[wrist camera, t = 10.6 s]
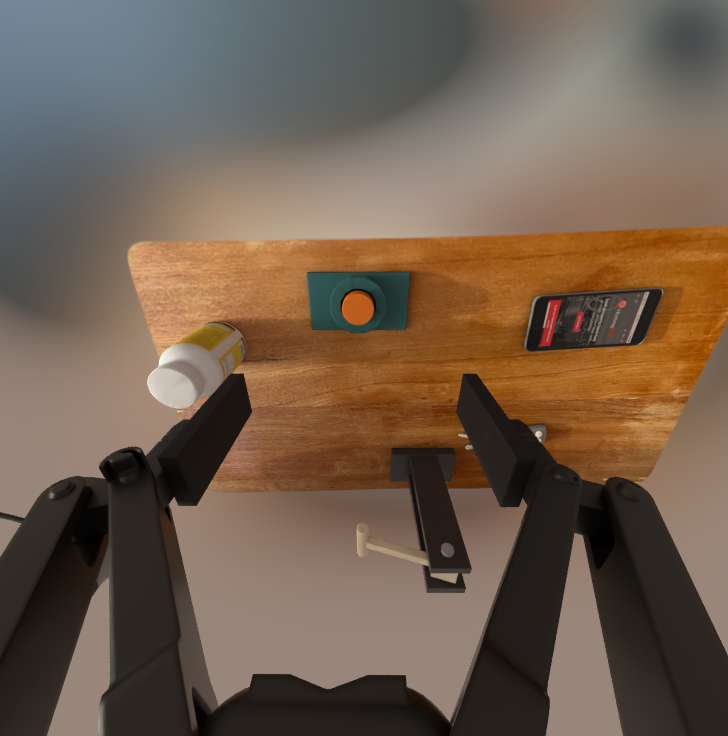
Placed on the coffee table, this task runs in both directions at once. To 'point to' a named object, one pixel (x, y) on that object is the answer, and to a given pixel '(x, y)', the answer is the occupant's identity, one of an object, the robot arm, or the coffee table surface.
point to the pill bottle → (197, 364)
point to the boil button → (358, 307)
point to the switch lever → (395, 551)
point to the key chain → (536, 429)
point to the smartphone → (591, 319)
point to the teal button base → (381, 286)
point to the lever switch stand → (433, 513)
